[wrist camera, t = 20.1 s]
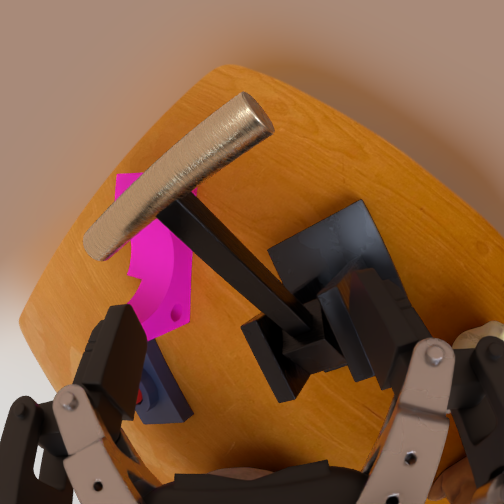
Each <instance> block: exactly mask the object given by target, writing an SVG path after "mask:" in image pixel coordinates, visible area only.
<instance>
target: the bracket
mask: <svg viewBox="0 0 504 504" xmlns="http://www.w3.org/2000/svg"><path fill="white" fill-rule="evenodd" d="M267 251H268V253H269V255H270V257H271V259H272V261H273V264H274V266H275V268H276V270H277V272H278V274H279V276H280V278H281V280H282V282H283V284H284V286H285V287H286V288H287V289H288V290H289V291H290V292H291V293H292V294H293V295H294V296H295V297H296V298H297V299H298V300H299V301H300V303H301V304H302V305H303V304H305V303H307V302H310V301H312V300H314V299H316V298H317V299H318V301H319V303H320V305H321V307H322V309H323V311H324V314H325V316H326V318H327V320H328V322H329V325H330V327H331V329H332V331H333V333H334V336H335V338H336V340H337V342H338V345H339V347H340V349H341V351H342V354H343V356H344V358H345V360H346V363H345V364H342V365H339V366H336V367H333V368H330V369H327V370H324V372H329V371H332V370H335V369H338V368H341V367H344V366H347V365H348V367H349V370H350V372H351V374H352V377H353V379H354V381H355V382H358V381H361V380H364V379H367V378H370V377H373V376H375V373H374V371H373V368H372V366H371V364H370V361H369V359H368V356H367V354H366V352H365V349H364V347H363V345H362V342H361V340H360V338H359V336H358V333H357V331H356V329H355V327H354V324H353V322H352V320H351V317H350V312H349V297H350V286H351V275H352V272H353V271H358V270H363V269H369V268H374V269H375V270H376V272H377V273H378V275H379V276H380V278H381V279H382V280H386V279H389V280H390V281H392V282H393V283H394V284H396V285H397V286H399V287H400V289H401V290H402V292H403V293H404V295H405V296H406V299H408V297H407V294H406V292H405V289H404V287H403V284H402V282H401V280H400V277H399V275H398V272H397V270H396V268H395V266H394V263H393V261H392V259H391V257H390V254H389V252H388V250H387V248H386V246H385V244H384V241H383V239H382V237H381V235H380V233H379V231H378V229H377V227H376V225H375V223H374V221H373V219H372V217H371V215H370V213H369V211H368V209H367V207H366V205H365V203H364V201H363V200H362V199H360V200H359V201H357V202H355V203H353V204H351V205H349V206H347V207H346V208H344V209H342V210H340V211H338V212H336V213H334V214H333V215H331V216H329V217H327V218H325V219H323V220H321V221H320V222H318V223H316V224H314V225H312V226H310V227H308V228H307V229H305V230H303V231H301V232H299V233H297V234H295V235H294V236H292V237H290V238H288V239H286V240H284V241H282V242H281V243H279V244H277V245H275V246H273V247H271V248H269V249H268V250H267ZM408 300H409V299H408ZM241 330H242V332H243V334H244V336H245V338H246V340H247V342H248V344H249V346H250V348H251V350H252V352H253V354H254V356H255V358H256V360H257V362H258V364H259V366H260V368H261V370H262V372H263V374H264V376H265V378H266V380H267V382H268V384H269V385H270V387H271V389H272V391H273V393H274V395H275V397H276V399H277V401H278V402H279V403H282V402H286V401H291V400H295V399H296V398H297V396H298V395H299V393H300V391H301V390H302V388H303V386H304V385H305V383H306V381H307V380H308V378H309V376H310V375H311V374H310V373H308V372H307V371H305V370H304V369H302V368H301V367H300V366H298V365H297V364H295V363H294V362H293V361H291V360H290V359H288V358H287V357H286V356H284V355H283V354H282V328H280V327H279V326H278V325H277V324H276V323H274V322H273V321H272V320H271V319H270V318H268V317H267V316H266V315H265V314H264V313H263V312H261V313H260V314H258V315H257V316H255V317H254V318H252V319H251V320H249V321H248V322H246V323H245V324H243V325H242V326H241Z"/></svg>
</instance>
